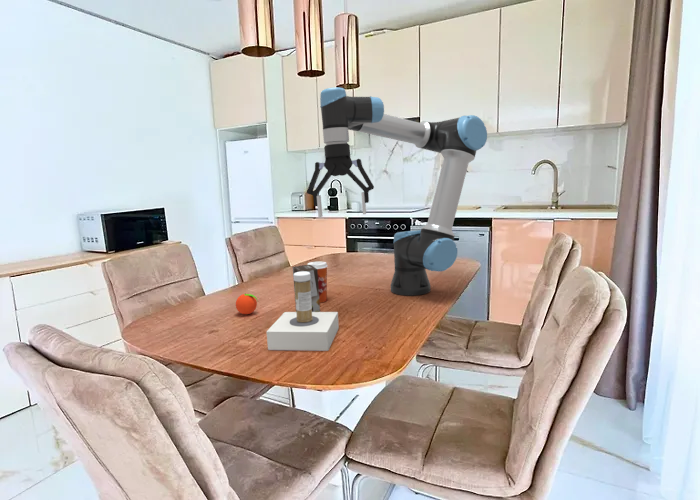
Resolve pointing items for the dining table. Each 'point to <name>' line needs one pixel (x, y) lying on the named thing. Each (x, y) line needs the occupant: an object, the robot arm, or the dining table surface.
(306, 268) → the coffee box
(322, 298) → the paper cup
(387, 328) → the dining table surface
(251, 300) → the clementine
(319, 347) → the plinth
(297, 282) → the sprinkles bottle
